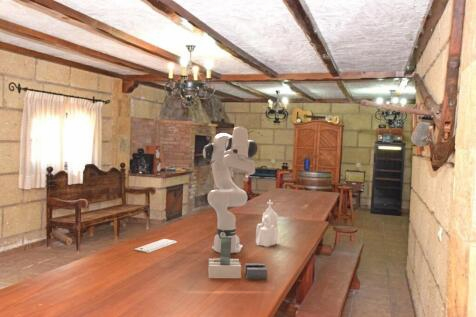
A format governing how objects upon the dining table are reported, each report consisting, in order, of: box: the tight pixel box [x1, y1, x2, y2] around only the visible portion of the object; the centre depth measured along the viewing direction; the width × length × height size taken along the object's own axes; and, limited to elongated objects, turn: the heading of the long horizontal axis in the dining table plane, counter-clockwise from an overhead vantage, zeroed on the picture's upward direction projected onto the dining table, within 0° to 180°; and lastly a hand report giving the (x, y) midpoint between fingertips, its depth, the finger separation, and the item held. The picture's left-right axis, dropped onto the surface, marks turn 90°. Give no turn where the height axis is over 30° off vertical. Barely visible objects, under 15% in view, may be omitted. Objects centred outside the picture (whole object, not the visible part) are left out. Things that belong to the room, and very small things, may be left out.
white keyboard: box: [133, 238, 178, 254], centre depth 262 cm, size 31×3×12 cm
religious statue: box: [255, 199, 279, 248], centre depth 277 cm, size 17×14×30 cm
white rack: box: [207, 258, 242, 279], centre depth 212 cm, size 13×16×7 cm
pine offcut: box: [213, 257, 220, 262], centre depth 214 cm, size 3×5×7 cm, turn 96°
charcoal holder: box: [244, 262, 268, 281], centre depth 210 cm, size 10×10×6 cm
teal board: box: [219, 236, 232, 265], centre depth 208 cm, size 2×5×20 cm, turn 96°
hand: (239, 178), depth 219 cm, fingers open, 8 cm apart
